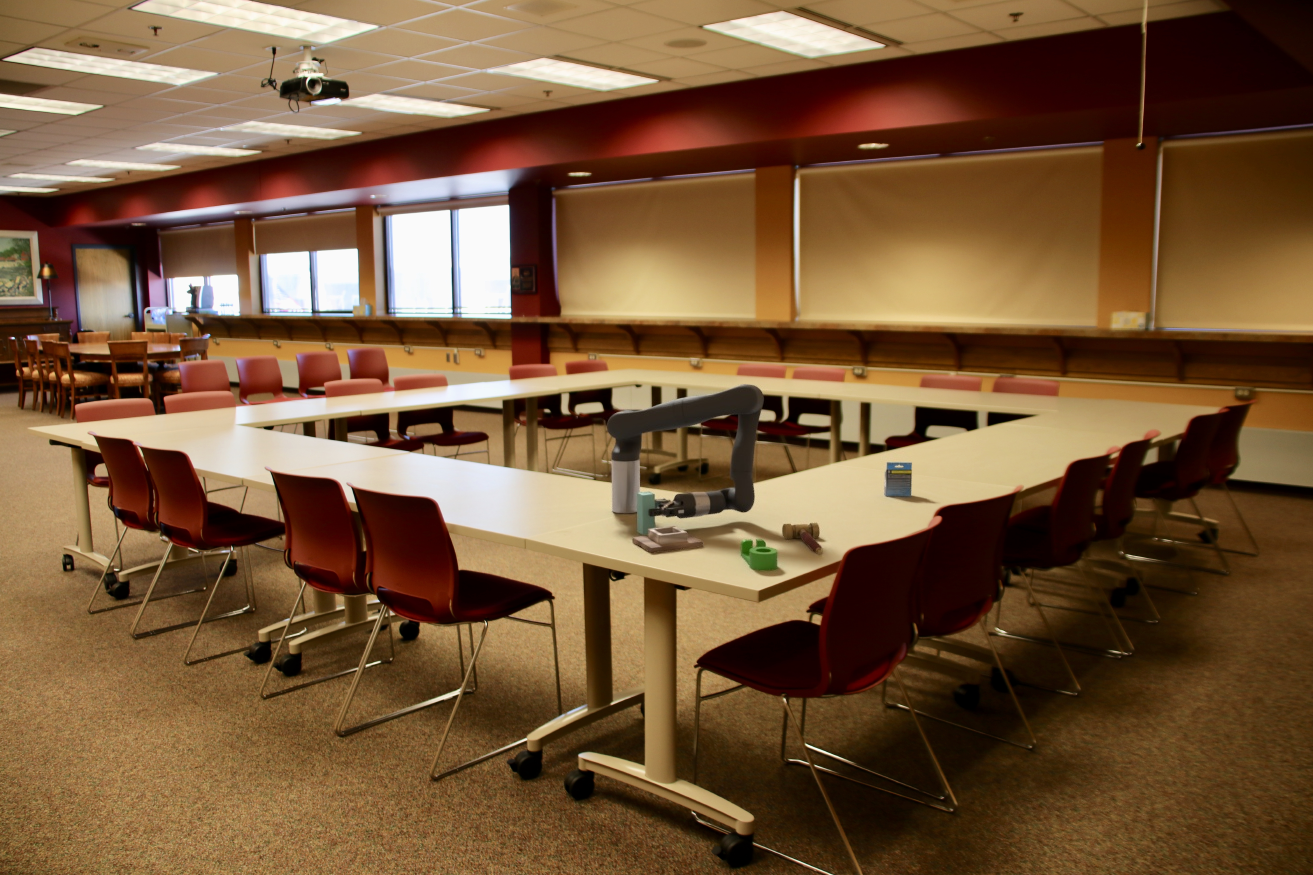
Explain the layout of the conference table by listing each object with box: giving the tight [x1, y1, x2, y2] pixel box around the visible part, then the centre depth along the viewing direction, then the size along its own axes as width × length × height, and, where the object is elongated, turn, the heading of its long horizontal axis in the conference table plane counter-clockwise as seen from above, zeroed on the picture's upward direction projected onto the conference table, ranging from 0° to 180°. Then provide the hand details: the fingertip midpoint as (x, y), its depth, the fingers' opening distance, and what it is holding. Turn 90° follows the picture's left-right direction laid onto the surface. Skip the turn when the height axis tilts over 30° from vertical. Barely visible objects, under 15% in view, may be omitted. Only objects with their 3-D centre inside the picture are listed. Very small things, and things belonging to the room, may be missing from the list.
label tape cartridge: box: [883, 461, 913, 498], centre depth 319 cm, size 9×4×12 cm, turn 84°
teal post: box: [636, 491, 656, 536], centre depth 268 cm, size 4×4×12 cm
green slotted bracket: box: [740, 538, 778, 572], centre depth 237 cm, size 15×7×5 cm, turn 8°
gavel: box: [781, 522, 822, 555], centre depth 254 cm, size 21×5×10 cm
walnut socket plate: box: [632, 525, 704, 554], centre depth 255 cm, size 13×16×4 cm
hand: (643, 509), depth 268 cm, fingers open, 8 cm apart
